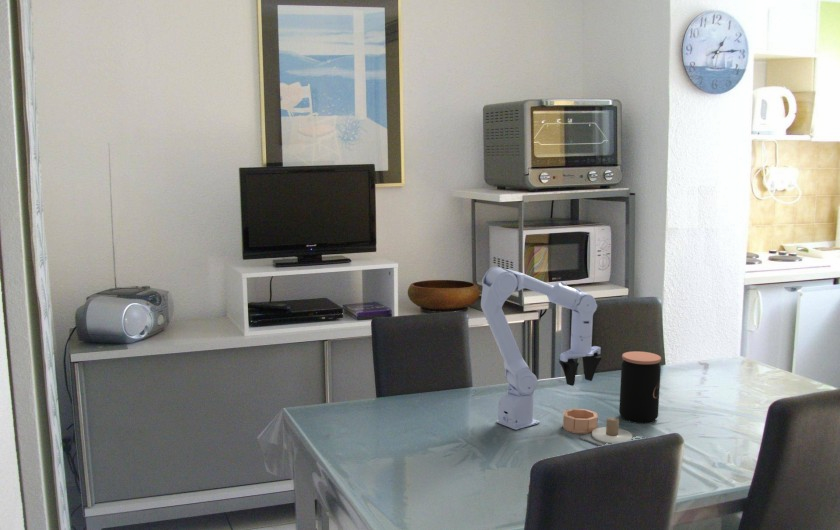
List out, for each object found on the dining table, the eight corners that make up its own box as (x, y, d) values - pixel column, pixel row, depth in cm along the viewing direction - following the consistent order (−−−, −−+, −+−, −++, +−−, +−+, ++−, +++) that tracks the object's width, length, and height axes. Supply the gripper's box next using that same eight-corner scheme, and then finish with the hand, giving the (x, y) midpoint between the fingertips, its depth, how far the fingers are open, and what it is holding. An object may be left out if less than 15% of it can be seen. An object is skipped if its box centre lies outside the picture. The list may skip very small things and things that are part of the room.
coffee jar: (659, 425, 234) (662, 362, 231) (619, 422, 236) (622, 359, 234) (656, 413, 245) (659, 352, 242) (618, 410, 247) (621, 350, 244)
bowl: (581, 436, 225) (581, 422, 225) (556, 427, 232) (556, 413, 232) (603, 429, 231) (604, 415, 230) (578, 420, 238) (579, 406, 237)
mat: (611, 450, 215) (611, 449, 215) (578, 438, 224) (578, 436, 224) (646, 439, 224) (646, 437, 224) (613, 427, 232) (613, 426, 232)
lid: (614, 447, 217) (615, 429, 216) (583, 435, 225) (584, 417, 224) (640, 438, 223) (641, 421, 222) (609, 427, 231) (610, 410, 231)
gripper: (574, 341, 229) (572, 390, 231) (609, 334, 237) (607, 381, 239) (555, 336, 234) (553, 384, 236) (590, 329, 243) (588, 375, 245)
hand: (579, 382), depth 238 cm, fingers open, 7 cm apart
